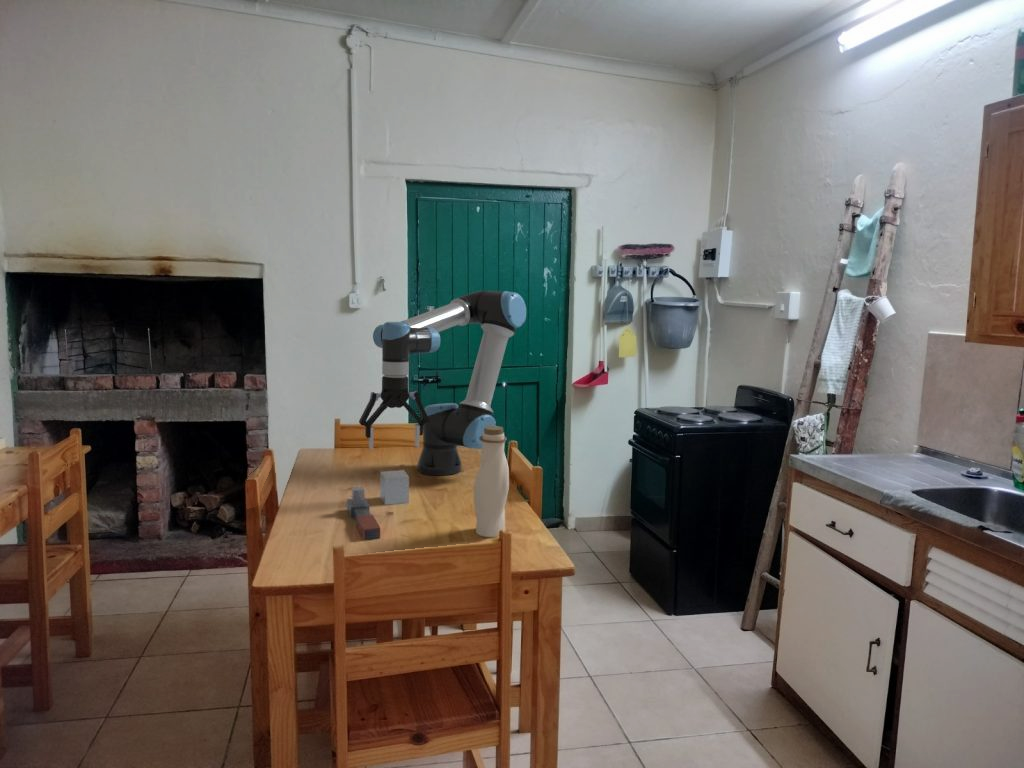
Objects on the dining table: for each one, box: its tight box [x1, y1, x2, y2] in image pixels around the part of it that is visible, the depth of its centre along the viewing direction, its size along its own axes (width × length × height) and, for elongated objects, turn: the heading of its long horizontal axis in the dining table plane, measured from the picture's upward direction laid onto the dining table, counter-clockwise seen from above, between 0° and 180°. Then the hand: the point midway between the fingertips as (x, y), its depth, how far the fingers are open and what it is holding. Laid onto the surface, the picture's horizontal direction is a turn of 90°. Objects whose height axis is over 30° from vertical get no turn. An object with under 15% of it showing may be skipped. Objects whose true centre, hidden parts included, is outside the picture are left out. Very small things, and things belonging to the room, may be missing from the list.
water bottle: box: [473, 425, 510, 538], centre depth 177 cm, size 10×9×28 cm
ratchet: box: [346, 486, 381, 541], centre depth 181 cm, size 5×24×7 cm, turn 22°
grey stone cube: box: [379, 469, 410, 506], centre depth 201 cm, size 7×7×8 cm
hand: (394, 447), depth 199 cm, fingers open, 13 cm apart
